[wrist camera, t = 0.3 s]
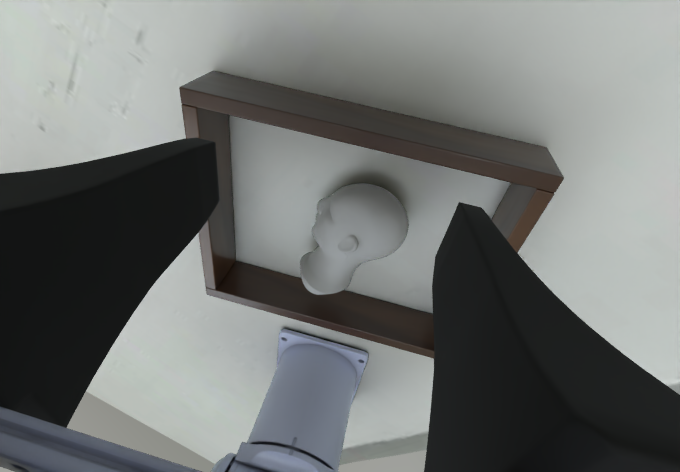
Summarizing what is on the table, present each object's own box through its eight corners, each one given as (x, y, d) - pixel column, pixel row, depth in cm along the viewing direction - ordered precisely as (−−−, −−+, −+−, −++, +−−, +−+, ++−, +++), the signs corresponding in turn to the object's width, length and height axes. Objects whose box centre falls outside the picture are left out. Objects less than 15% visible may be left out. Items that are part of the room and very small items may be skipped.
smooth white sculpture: (371, 152, 21) (430, 216, 21) (298, 229, 26) (347, 282, 26) (340, 169, 17) (410, 246, 17) (262, 255, 22) (318, 316, 22)
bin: (447, 325, 27) (448, 362, 24) (226, 265, 28) (206, 294, 26) (547, 147, 18) (565, 177, 15) (212, 70, 19) (178, 86, 16)
